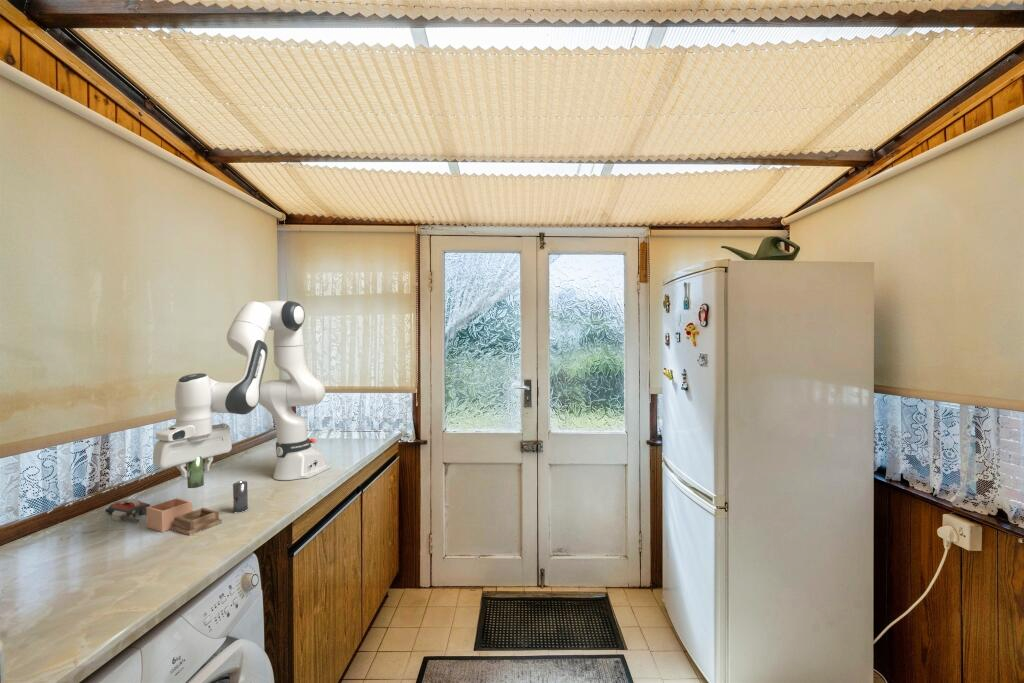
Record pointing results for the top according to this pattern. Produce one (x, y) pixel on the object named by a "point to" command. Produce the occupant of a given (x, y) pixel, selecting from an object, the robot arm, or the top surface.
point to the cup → (166, 513)
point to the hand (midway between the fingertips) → (195, 474)
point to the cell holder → (196, 521)
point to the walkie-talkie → (127, 510)
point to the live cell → (195, 473)
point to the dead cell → (240, 496)
